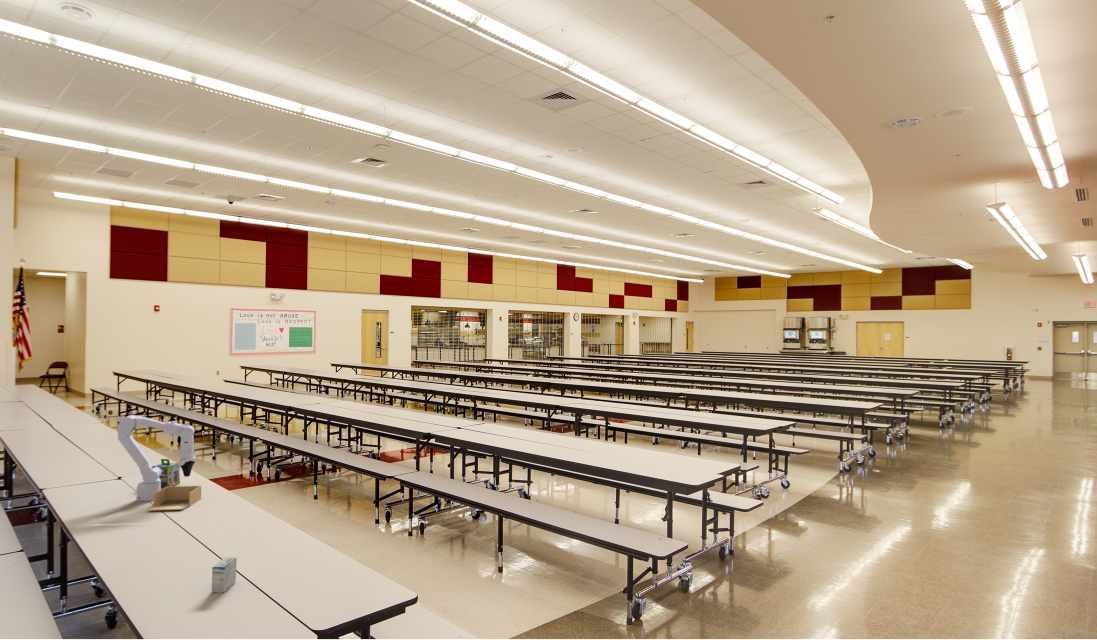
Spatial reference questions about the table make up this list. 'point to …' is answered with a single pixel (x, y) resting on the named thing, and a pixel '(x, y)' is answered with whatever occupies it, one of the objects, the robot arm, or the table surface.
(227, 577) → the medicine box
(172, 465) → the chalk box
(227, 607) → the table surface
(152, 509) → the flap
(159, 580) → the table surface
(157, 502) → the carton
